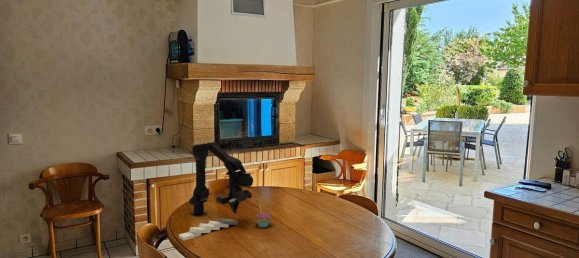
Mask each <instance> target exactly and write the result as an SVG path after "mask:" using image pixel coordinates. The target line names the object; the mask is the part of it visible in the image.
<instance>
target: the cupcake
mask: <svg viewBox="0 0 579 258" xmlns="http://www.w3.org/2000/svg"><path fill="white" fill-rule="evenodd" d="M258 205H259V210H260V212H258V213H257V214H256V215H254V220H255V221H256V222H257V225H258V227H259V228H268V227H269V224H270V221H272V219H273V217H272V214H270V213H269V212H267V211H262V205H261V204H258Z"/></svg>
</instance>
